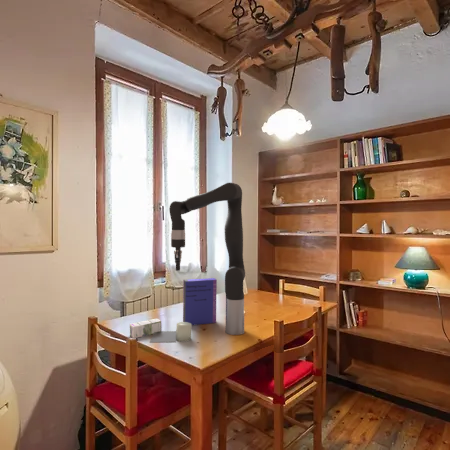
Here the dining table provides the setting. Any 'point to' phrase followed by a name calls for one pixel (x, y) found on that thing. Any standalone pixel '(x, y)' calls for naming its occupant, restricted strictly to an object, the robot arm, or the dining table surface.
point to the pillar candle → (183, 331)
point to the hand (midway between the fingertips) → (177, 270)
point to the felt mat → (164, 336)
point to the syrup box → (145, 328)
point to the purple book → (199, 301)
